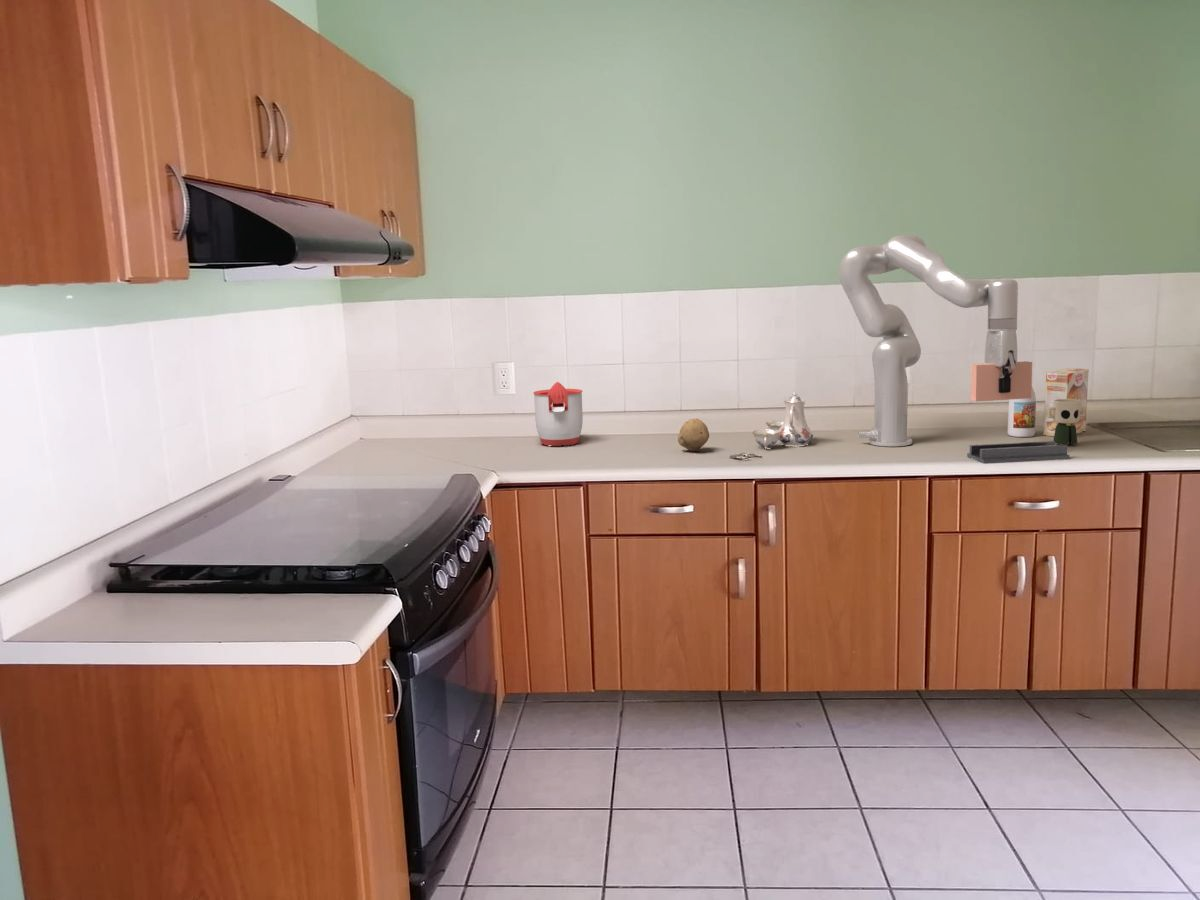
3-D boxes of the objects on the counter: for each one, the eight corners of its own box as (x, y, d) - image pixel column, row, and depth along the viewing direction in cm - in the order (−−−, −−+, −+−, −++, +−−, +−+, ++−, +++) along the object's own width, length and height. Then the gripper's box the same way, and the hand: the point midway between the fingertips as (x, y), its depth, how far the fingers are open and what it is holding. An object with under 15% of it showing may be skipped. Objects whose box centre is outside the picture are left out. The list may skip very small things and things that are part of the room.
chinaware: (766, 441, 330) (760, 390, 328) (818, 436, 325) (813, 384, 323) (752, 457, 304) (745, 401, 302) (808, 452, 299) (802, 396, 296)
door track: (983, 463, 275) (984, 450, 274) (967, 456, 284) (967, 444, 284) (1069, 458, 277) (1070, 446, 276) (1050, 452, 286) (1050, 440, 286)
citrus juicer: (534, 450, 319) (531, 386, 316) (536, 440, 336) (533, 380, 333) (585, 448, 320) (582, 384, 316) (584, 439, 337) (581, 378, 333)
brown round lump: (716, 452, 305) (715, 418, 303) (691, 455, 301) (690, 422, 299) (698, 448, 313) (697, 415, 311) (674, 451, 309) (673, 418, 307)
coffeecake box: (1065, 438, 308) (1068, 373, 305) (1042, 435, 313) (1044, 372, 310) (1086, 431, 318) (1089, 368, 315) (1063, 429, 323) (1066, 367, 320)
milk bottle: (1003, 436, 314) (1005, 371, 311) (1013, 432, 320) (1016, 368, 316) (1028, 438, 309) (1030, 372, 306) (1038, 435, 314) (1041, 369, 311)
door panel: (975, 401, 282) (976, 365, 281) (970, 400, 285) (971, 364, 284) (1031, 398, 284) (1032, 362, 282) (1025, 397, 287) (1026, 361, 285)
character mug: (1051, 447, 294) (1053, 402, 291) (1040, 443, 301) (1042, 399, 298) (1089, 446, 294) (1091, 401, 291) (1078, 442, 301) (1080, 398, 298)
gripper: (975, 324, 289) (974, 389, 292) (1003, 327, 273) (1002, 395, 276) (1000, 323, 289) (999, 388, 292) (1030, 325, 273) (1029, 394, 276)
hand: (1001, 391), depth 284 cm, fingers closed on door panel, 3 cm apart
